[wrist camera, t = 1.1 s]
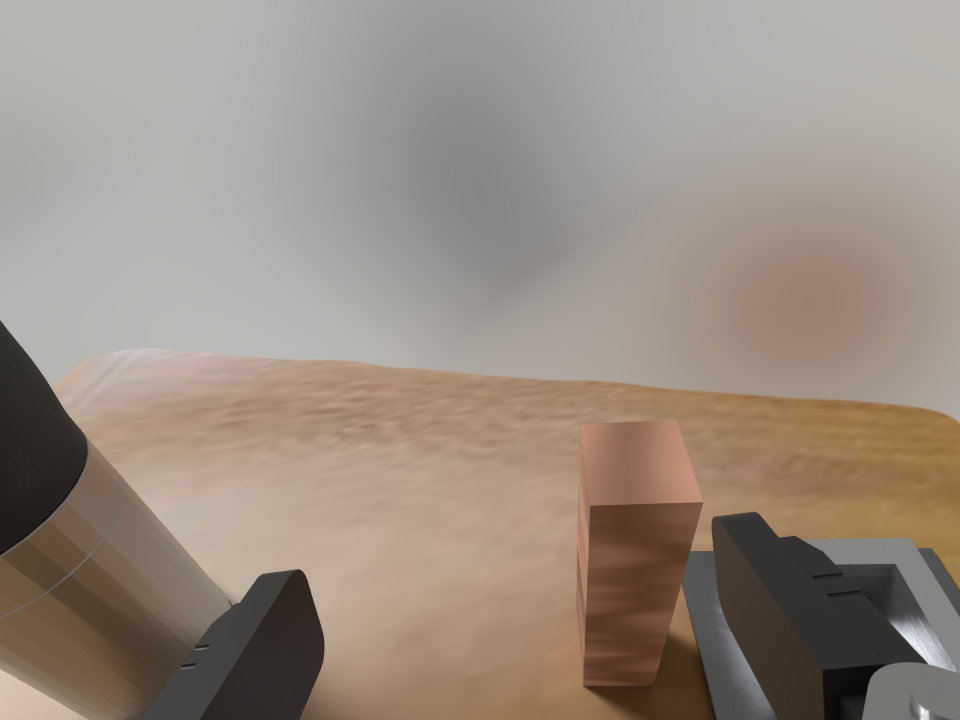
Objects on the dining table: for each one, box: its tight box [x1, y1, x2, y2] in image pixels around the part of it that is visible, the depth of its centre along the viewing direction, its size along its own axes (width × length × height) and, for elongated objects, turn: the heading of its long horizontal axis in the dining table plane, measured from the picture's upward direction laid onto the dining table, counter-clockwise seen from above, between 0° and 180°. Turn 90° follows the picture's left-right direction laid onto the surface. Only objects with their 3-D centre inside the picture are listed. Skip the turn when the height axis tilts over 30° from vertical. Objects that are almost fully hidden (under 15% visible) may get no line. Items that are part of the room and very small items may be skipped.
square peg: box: [576, 420, 703, 686], centre depth 27 cm, size 4×4×18 cm
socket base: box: [682, 538, 960, 720], centre depth 30 cm, size 16×12×5 cm
